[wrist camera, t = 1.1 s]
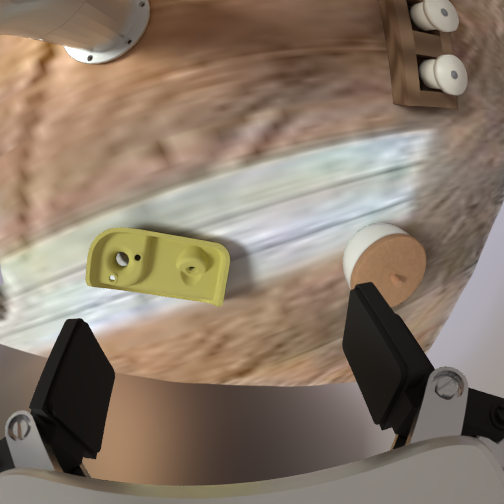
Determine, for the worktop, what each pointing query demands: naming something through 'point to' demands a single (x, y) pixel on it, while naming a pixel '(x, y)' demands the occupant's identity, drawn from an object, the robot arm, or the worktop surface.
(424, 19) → the knob
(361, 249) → the lidded bowl
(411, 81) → the mount
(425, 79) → the knob
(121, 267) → the plastic component
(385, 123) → the worktop surface
